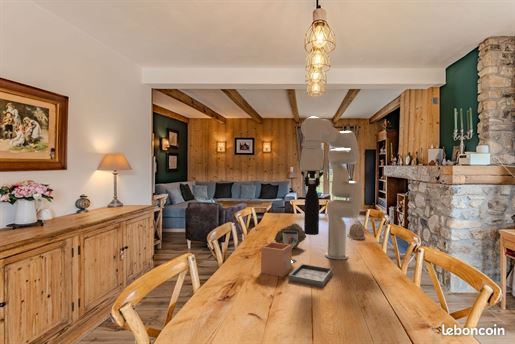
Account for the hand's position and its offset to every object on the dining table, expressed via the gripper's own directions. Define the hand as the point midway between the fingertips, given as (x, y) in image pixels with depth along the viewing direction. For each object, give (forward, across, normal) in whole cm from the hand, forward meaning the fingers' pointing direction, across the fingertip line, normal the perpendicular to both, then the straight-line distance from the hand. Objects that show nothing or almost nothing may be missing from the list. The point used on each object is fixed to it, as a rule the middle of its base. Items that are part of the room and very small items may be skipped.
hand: (312, 186), depth 136 cm
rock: (+42, -27, +39) cm, 63 cm away
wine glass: (+41, -17, +18) cm, 48 cm away
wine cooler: (+41, -17, 0) cm, 44 cm away
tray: (+41, 0, 0) cm, 41 cm away
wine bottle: (+21, 0, 0) cm, 21 cm away
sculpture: (+42, +4, +94) cm, 103 cm away
